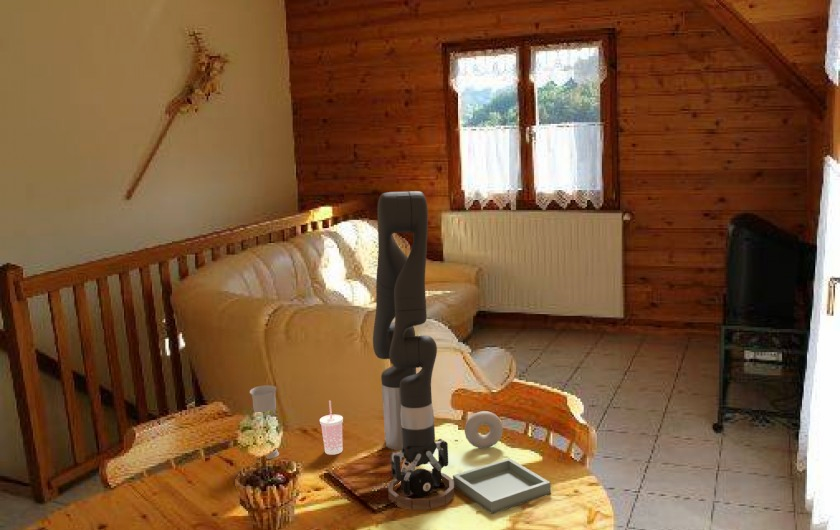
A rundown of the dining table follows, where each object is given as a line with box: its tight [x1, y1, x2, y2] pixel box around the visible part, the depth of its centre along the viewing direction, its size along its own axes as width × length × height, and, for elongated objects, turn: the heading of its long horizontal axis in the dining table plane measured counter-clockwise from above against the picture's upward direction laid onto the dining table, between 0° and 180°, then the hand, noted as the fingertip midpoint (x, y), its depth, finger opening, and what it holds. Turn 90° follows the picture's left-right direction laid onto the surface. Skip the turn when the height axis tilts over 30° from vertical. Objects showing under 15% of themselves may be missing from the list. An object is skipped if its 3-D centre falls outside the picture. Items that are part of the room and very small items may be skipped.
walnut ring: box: [387, 470, 455, 511], centre depth 187 cm, size 15×15×2 cm
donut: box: [464, 410, 504, 449], centre depth 210 cm, size 10×4×10 cm, turn 96°
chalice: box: [249, 384, 280, 460], centre depth 212 cm, size 7×7×18 cm
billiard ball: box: [408, 468, 435, 497], centre depth 187 cm, size 6×6×6 cm
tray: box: [452, 457, 552, 515], centre depth 187 cm, size 16×16×3 cm
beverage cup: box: [319, 400, 344, 456], centre depth 213 cm, size 6×6×14 cm
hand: (421, 489), depth 187 cm, fingers open, 7 cm apart
